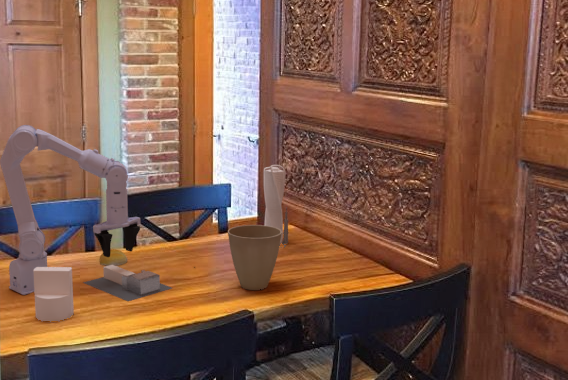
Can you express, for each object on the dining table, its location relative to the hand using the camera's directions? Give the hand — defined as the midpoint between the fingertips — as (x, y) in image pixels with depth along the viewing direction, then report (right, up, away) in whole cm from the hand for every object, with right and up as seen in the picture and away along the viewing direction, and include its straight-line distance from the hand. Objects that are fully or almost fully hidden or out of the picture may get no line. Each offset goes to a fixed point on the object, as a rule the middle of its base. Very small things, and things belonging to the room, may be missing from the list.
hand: (118, 253), depth 210 cm
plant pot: (+38, -9, +1) cm, 39 cm away
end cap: (+8, -9, -5) cm, 13 cm away
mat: (+3, -9, -2) cm, 10 cm away
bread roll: (-6, -5, +19) cm, 21 cm away
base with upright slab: (-10, -14, -24) cm, 29 cm away
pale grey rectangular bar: (0, -8, +1) cm, 8 cm away
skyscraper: (+43, -1, +43) cm, 61 cm away
